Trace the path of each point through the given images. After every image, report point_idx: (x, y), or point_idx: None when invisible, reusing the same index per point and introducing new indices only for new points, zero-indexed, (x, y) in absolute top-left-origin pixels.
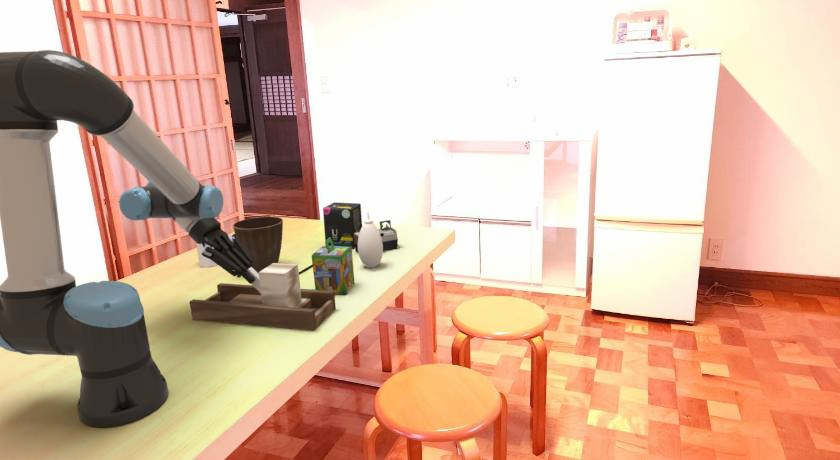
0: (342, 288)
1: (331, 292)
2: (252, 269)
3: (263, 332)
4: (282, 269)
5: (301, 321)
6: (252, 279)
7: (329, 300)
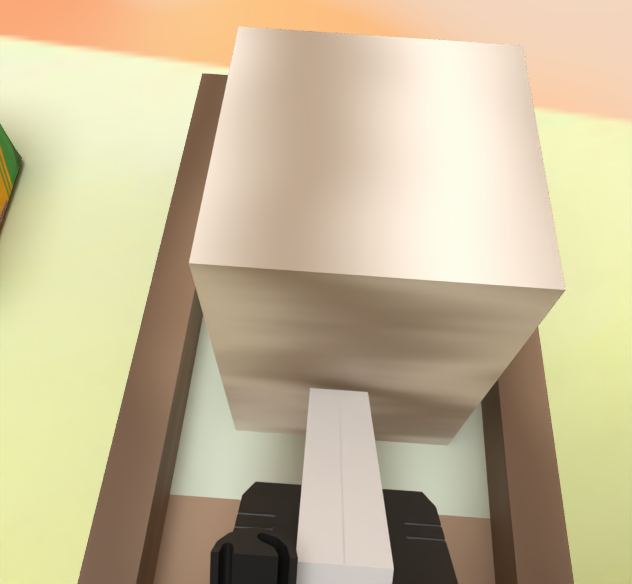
0: (5, 142)
1: (224, 80)
2: (329, 530)
3: (570, 402)
4: (404, 96)
5: None
6: (428, 501)
7: None
